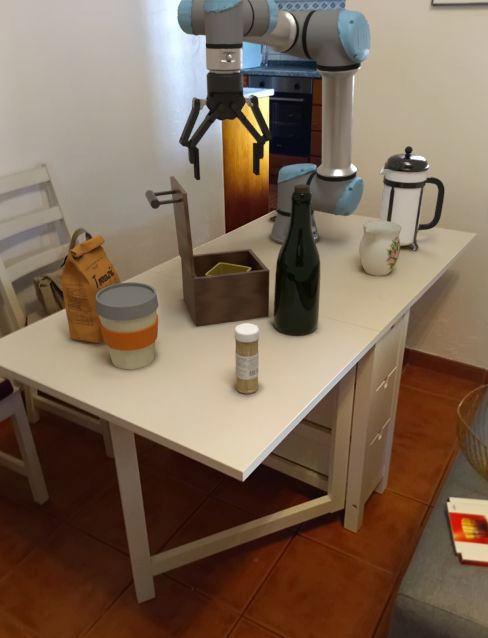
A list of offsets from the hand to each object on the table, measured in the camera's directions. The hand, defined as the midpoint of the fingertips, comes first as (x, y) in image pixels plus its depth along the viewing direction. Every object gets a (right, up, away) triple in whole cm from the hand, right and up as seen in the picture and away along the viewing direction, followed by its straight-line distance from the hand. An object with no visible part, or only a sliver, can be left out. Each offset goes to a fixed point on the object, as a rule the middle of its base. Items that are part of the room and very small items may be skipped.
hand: (227, 176), depth 132 cm
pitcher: (+42, -16, +37) cm, 58 cm away
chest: (-1, -28, +16) cm, 32 cm away
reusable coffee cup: (-20, -41, -5) cm, 46 cm away
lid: (-10, -11, +3) cm, 15 cm away
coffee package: (-30, -35, +5) cm, 46 cm away
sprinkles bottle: (+4, -46, -15) cm, 49 cm away
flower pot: (0, -28, +15) cm, 32 cm away
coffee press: (+53, -5, +56) cm, 77 cm away
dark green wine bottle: (+16, -33, +8) cm, 38 cm away
